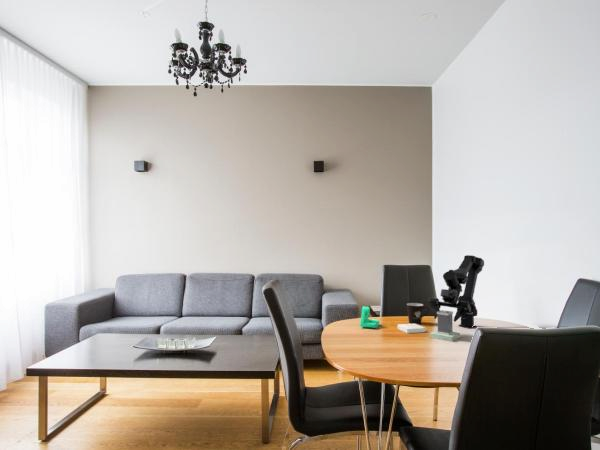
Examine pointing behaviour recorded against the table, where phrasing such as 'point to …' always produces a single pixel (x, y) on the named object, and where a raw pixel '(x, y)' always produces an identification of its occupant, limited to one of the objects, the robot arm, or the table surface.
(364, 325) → the camera mount
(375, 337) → the table surface
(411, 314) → the coffee mug
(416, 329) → the stand
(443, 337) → the stand
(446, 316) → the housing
